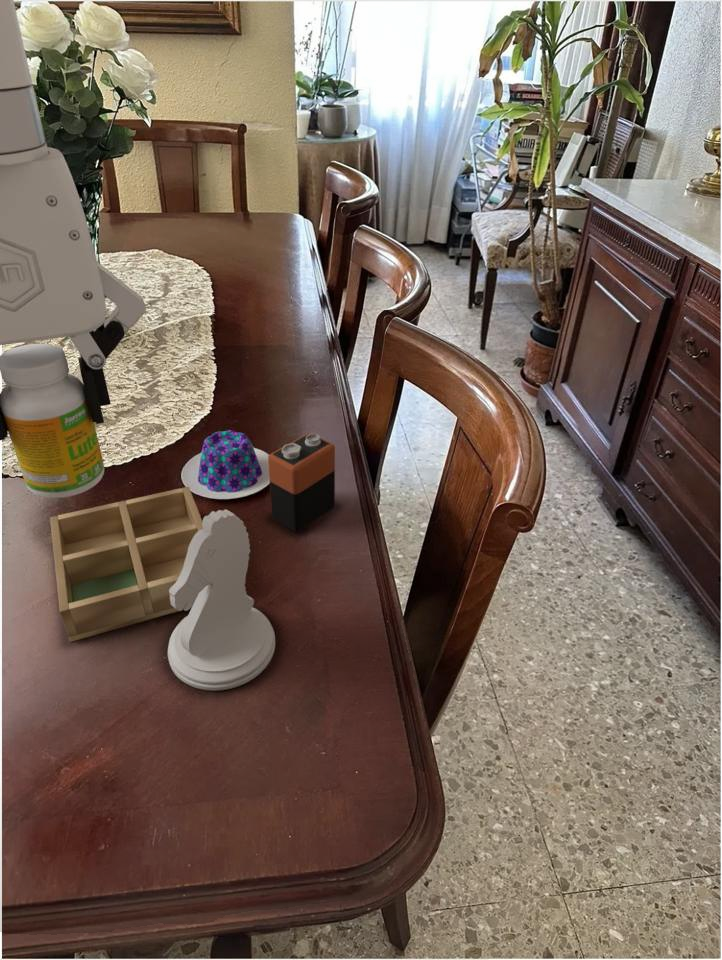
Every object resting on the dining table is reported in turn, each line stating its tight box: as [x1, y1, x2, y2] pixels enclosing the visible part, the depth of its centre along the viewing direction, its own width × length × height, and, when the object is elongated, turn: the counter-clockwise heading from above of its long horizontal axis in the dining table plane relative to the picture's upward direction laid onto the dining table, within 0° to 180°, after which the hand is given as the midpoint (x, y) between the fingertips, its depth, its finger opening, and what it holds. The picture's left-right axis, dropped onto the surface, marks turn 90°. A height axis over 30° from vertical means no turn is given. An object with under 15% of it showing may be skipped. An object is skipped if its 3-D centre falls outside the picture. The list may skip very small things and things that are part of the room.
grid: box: [49, 486, 203, 643], centre depth 69 cm, size 15×15×4 cm
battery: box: [268, 432, 336, 533], centre depth 76 cm, size 4×7×10 cm, turn 140°
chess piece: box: [167, 508, 276, 691], centre depth 57 cm, size 10×10×15 cm
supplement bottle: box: [0, 343, 105, 499], centre depth 45 cm, size 5×5×10 cm
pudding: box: [180, 429, 270, 500], centre depth 83 cm, size 12×12×5 cm
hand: (50, 420), depth 45 cm, fingers closed on supplement bottle, 5 cm apart
